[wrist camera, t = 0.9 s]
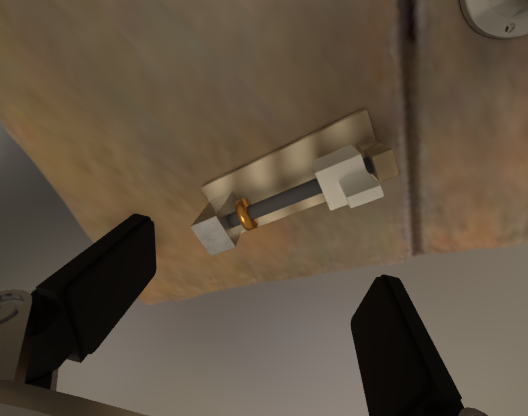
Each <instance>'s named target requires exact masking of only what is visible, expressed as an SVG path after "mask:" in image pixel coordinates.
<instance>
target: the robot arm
mask: <svg viewBox="0 0 528 416" xmlns="http://www.w3.org/2000/svg"><path fill="white" fill-rule="evenodd" d="M460 5H461V8H462V12H463V15H464V17H465V18H466V20H467V22H468V24H469V25H470V26H471V27H472V28H473V29H474V30H475V31H476V32H478V33H480V34H482V35H484V36H486V37H490V38H494V39H510V38H515V37H520V36H523V35H527V34H528V0H460ZM155 273H156V250H155V230H154V222H153V221H151V219H150V217H148V216H144V215H140V214H133V215H131V216H130V217H129V218H127V219H126V220H125V221H123V222H122V223H121V224H119V225H118V226H117V227H115V228H114V229H113V230H111V231H110V232H109V233H107V234H106V235H105V236H103V237H102V238H101V239H99V240H98V241H97V242H95V243H94V244H93V245H91V246H90V247H89V248H88V249H86V250H85V251H84V252H82V253H81V254H79V255H78V256H77V257H75V258H74V259H73V260H71V261H70V262H69V263H67V264H66V265H65V266H63V267H62V268H61V269H59V270H58V271H57V272H55V273H54V274H53V275H51V276H50V277H49V278H47V279H46V280H45V281H44V282H42V283H41V284H39V285H38V286H37V287H36V290H34V291H33V292H32V293H29V292H27V291H24V290H19V289H11V290H4V291H0V416H147V415H143V414H140V413H137V412H132V411H129V410H125V409H121V408H118V407H114V406H111V405H107V404H103V403H100V402H96V401H92V400H88V399H85V398H81V397H77V396H73V395H69V394H65V393H61V392H57V391H56V388H57V378H58V369H59V367H60V366H61V365H62V363H63V362H64V361H65V360H66V359H69V360H72V361H76V362H80V363H81V362H82V361H83V360H84V359H85V357H86V356H87V355H88V354H92V353H93V352H95V350H96V349H97V348H98V347H99V346H100V344H101V343H102V342H103V341H104V339H105V338H106V337H107V335H108V334H109V333H110V332H111V330H112V329H113V328H114V327H115V325H116V324H117V323H118V321H119V320H120V319H121V318H122V316H123V315H124V314H125V312H126V311H127V310H128V309H129V307H130V306H131V305H132V303H133V302H134V301H135V300H136V298H137V297H138V296H139V295H140V293H141V292H142V291H143V290H144V288H145V287H146V286H147V284H148V283H149V282H150V281H151V279H152V278H153V277H154V275H155ZM351 330H352V335H353V340H354V345H355V349H356V354H357V359H358V364H359V369H360V373H361V378H362V383H363V388H364V393H365V397H366V402H367V407H368V412H369V416H488V415H486V414H485V413H483V412H481V411H479V410H477V409H474V408H468V407H467V408H464V407H463V404H462V402H461V399H462V397H461V395H460V394H459V392H458V390H457V388H456V386H455V384H454V382H453V380H452V378H451V376H450V374H449V372H448V370H447V368H446V367H445V365H444V363H443V361H442V359H441V357H440V355H439V353H438V351H437V349H436V347H435V345H434V343H433V342H432V340H431V338H430V336H429V334H428V332H427V330H426V328H425V326H424V324H423V322H422V320H421V318H420V317H419V315H418V313H417V311H416V309H415V307H414V305H413V303H412V301H411V299H410V297H409V295H408V294H407V291H406V290H405V288H404V286H403V284H402V282H401V280H400V279H399V278H396V277H392V276H388V275H381V276H380V277H376V278H375V280H374V282H373V283H372V285H371V287H370V288H369V290H368V292H367V294H366V295H365V297H364V299H363V300H362V302H361V304H360V305H359V307H358V309H357V310H356V312H355V314H354V315H353V317H352V319H351Z"/></svg>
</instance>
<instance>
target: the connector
mask: <svg viewBox="0 0 528 416" xmlns="http://www.w3.org/2000/svg"><path fill="white" fill-rule="evenodd" d="M249 205H252V204H251V202H250V201H249V200H248V199H246V198H243V199H241V200H237V198H236V196H235V194H234V193H233V191H230V192H228V193H226V194H223V195H221V196H219V197H217V198H214V199H212V200H211V201H210V202H209V204H208V205H207V206H206V207H205V209H204V210H203V211H202V213H201V214H200V215H199V216H198V218H197V219H196V220H195V221H194V223H193V224H192V225H191V228H192V230H193V231H194V233H195V234H196V236H197V237H198V238H199V240H200V241H201V243H202V244H203V245H204V247H205V248H206V250H207V251H208V253H209V254H210V255H214V254H217V253H220V252H222V251H225V250H228V249H231V248H234V247H236V244H237V241H238V239H239V236H240V234H241V231H242V229H243V228H244V229H245V230H247V231H250V230H252V229H255V228H257V226H258V219H257V218H256V219H254V220H251V219H250V217H249V216H248V213H247V209H246V208H247V206H249ZM235 211H236V214H237V217H238V220H239V222H240V224H241V225H238V226H236V227H232V226H231V225H230V224H229V221H228V214H230V213H232V212H235Z"/></svg>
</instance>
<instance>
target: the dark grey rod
mask: <svg viewBox="0 0 528 416" xmlns="http://www.w3.org/2000/svg"><path fill="white" fill-rule="evenodd" d="M363 162H364V165H365V168H366V170H367V171H368V173H369V174H372V173H374V168H373V165H372V163H371V161H370V159H369V157H366V158H363ZM321 193H323V192H322V189H321V187H320V184H319V182H318V180H317V178H315V179H312V180H310V181H307V182H305V183H303V184H300V185H298V186H295V187H293V188H290V189H288V190H286V191H283V192H281V193H278V194H276V195H273V196H271V197H269V198H266V199H264V200H261V201H259V202H256V203H254V204H252V205H249V206H247V208H246V209H247V213H248V216H249V217H250V219H251V220H254V219H256V218H259V217H262V216H264V215H267V214H269V213H272V212H274V211H277V210H280V209H282V208H285V207H287V206H290V205H292V204H295V203H298V202H300V201H303V200H305V199H308V198H310V197H313V196H316V195H318V194H321ZM228 221H229V224H230V225H231V226H232V227H236V226H238V225H241V224H240V222H239V220H238V217H237V214H236V211H235V212H232V213H230V214H228Z"/></svg>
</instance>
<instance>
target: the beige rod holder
mask: <svg viewBox="0 0 528 416" xmlns="http://www.w3.org/2000/svg"><path fill="white" fill-rule="evenodd" d="M350 144H351V145H352V146H353V147H354V148H355V149H356V150H357V151H358V152H359V153H360V154H361V156H362V159H363V158H366V157H369V159H370V161H371V163H372V165H373V168H374V173H372V174H370V175H371V176H372V177H373V178H374V179H375V180H376V181H377V182H381V181H384V180H386V179H389V178H392V177H394V176H397V175H399V173H398V169H397V165H396V162H395V158H394V154H393V151H392V149H391V148H389V147H387V146H386V145H384V144H382V143H380V142H379V141H377V140H376V139H375V135H374V132H373V128H372V125H371V122H370V118H369V115H368V112H367V109H362V110H360V111H358V112H356V113H353V114H351V115H349V116H347V117H345V118H343V119H341V120H339V121H337V122H334V123H332V124H330V125H328V126H326V127H324V128H322V129H320V130H318V131H316V132H313V133H311V134H309V135H307V136H305V137H303V138H301V139H299V140H297V141H295V142H292V143H290V144H288V145H286V146H284V147H282V148H280V149H278V150H276V151H273V152H271V153H269V154H267V155H265V156H263V157H261V158H259V159H257V160H255V161H252V162H250V163H248V164H246V165H244V166H242V167H240V168H238V169H236V170H233V171H231V172H229V173H227V174H225V175H223V176H221V177H219V178H217V179H215V180H212V181H210V182H208V183H206V184H204V185H203V186H202V187H201V189H202V191H203V192H204V194H205V195H206V197H207V199H208V200H209V202H210V201H211V200H212V199H214V198H217V197H219V196H221V195H223V194H226V193H228V192H230V191H233V193H234V194H235V196H236V198H237V200H241V199H243V198H246V199H248V200H249V201H250V202H251V204H254V203H256V202H259V201H261V200H264V199H266V198H269V197H271V196H273V195H276V194H278V193H281V192H283V191H286V190H288V189H290V188H293V187H295V186H298V185H300V184H303V183H305V182H307V181H310V180H312V179H315V178H317V177H316V175H315V172H314V168H313V164H312V161H314V160H316V159H318V158H321V157H323V156H325V155H327V154H330V153H332V152H334V151H337V150H339V149H341V148H343V147H346V146H348V145H350ZM325 201H326V199H325V196H324V194H323V193H321V194H318V195H316V196H313V197H310V198H308V199H305V200H303V201H300V202H298V203H295V204H292V205H290V206H287V207H285V208H282V209H280V210H277V211H274V212H272V213H269V214H267V215H264V216H262V217H259V218H257V219H258V226H257V227H259V226H261V225H264V224H267V223H269V222H272V221H275V220H277V219H280V218H283V217H285V216H288V215H291V214H293V213H296V212H299V211H301V210H304V209H307V208H309V207H312V206H315V205H317V204H320V203H323V202H325ZM245 231H247V230H245V229H244V228H243V229H242V231H241V233H243V232H245Z"/></svg>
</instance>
